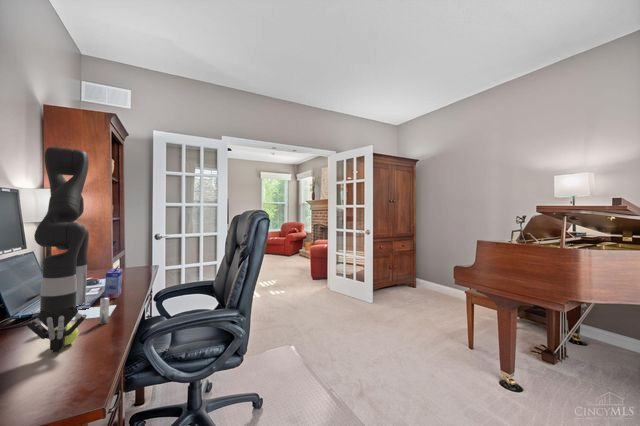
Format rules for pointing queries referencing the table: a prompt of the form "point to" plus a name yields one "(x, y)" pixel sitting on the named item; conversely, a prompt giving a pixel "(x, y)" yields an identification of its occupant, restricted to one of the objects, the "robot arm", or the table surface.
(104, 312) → the post
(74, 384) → the table surface
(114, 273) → the ink cartridge box
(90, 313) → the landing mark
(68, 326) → the ball
